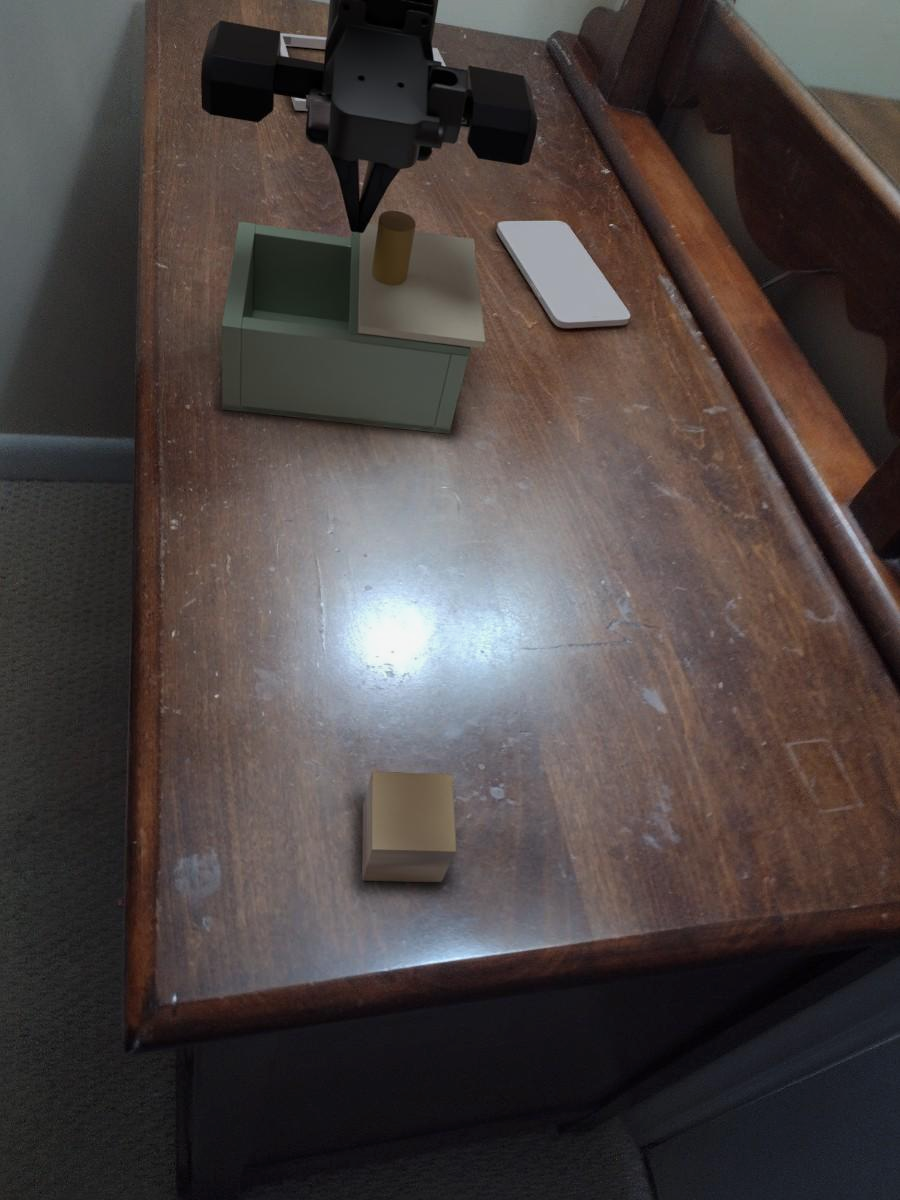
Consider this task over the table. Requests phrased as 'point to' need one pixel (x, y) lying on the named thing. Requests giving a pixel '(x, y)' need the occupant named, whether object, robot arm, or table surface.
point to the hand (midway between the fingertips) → (357, 229)
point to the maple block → (408, 827)
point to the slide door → (418, 284)
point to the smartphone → (562, 274)
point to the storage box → (323, 340)
